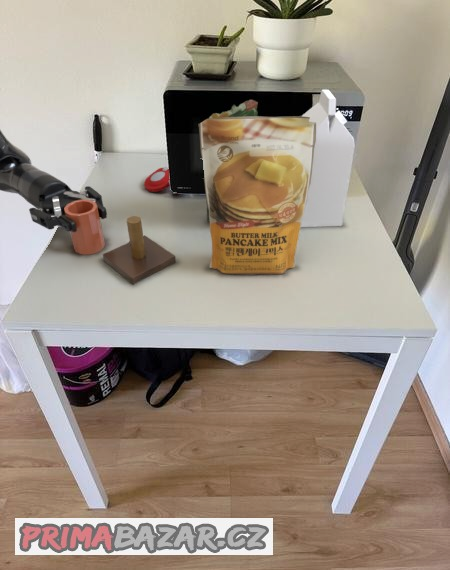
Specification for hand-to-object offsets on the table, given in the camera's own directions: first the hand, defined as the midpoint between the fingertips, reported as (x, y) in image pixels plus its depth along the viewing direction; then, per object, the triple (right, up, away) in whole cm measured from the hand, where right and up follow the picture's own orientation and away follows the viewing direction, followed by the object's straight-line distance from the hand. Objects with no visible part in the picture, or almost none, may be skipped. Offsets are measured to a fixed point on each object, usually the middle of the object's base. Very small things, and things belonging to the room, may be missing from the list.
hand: (89, 220), depth 84 cm
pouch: (+27, +3, +15) cm, 31 cm away
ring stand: (+9, -8, +2) cm, 12 cm away
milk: (+45, +4, +17) cm, 49 cm away
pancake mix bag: (+31, -9, +1) cm, 32 cm away
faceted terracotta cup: (-2, -4, +6) cm, 7 cm away
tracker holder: (+11, +12, +25) cm, 30 cm away
